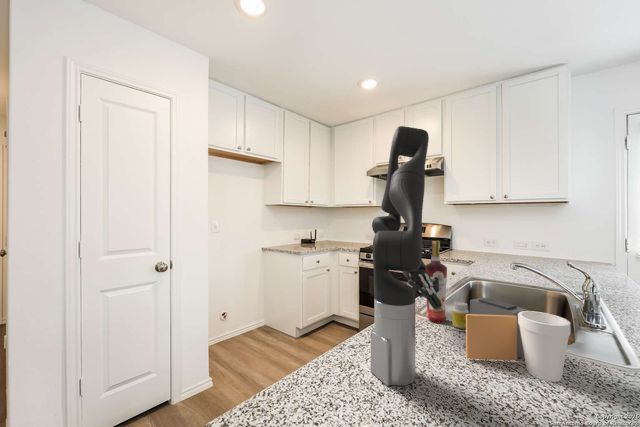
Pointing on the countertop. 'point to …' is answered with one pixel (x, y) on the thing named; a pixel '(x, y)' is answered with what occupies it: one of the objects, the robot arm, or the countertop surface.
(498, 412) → the countertop surface
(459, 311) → the supplement bottle
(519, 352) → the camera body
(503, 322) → the side door
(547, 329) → the foam cup
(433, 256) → the liquor
